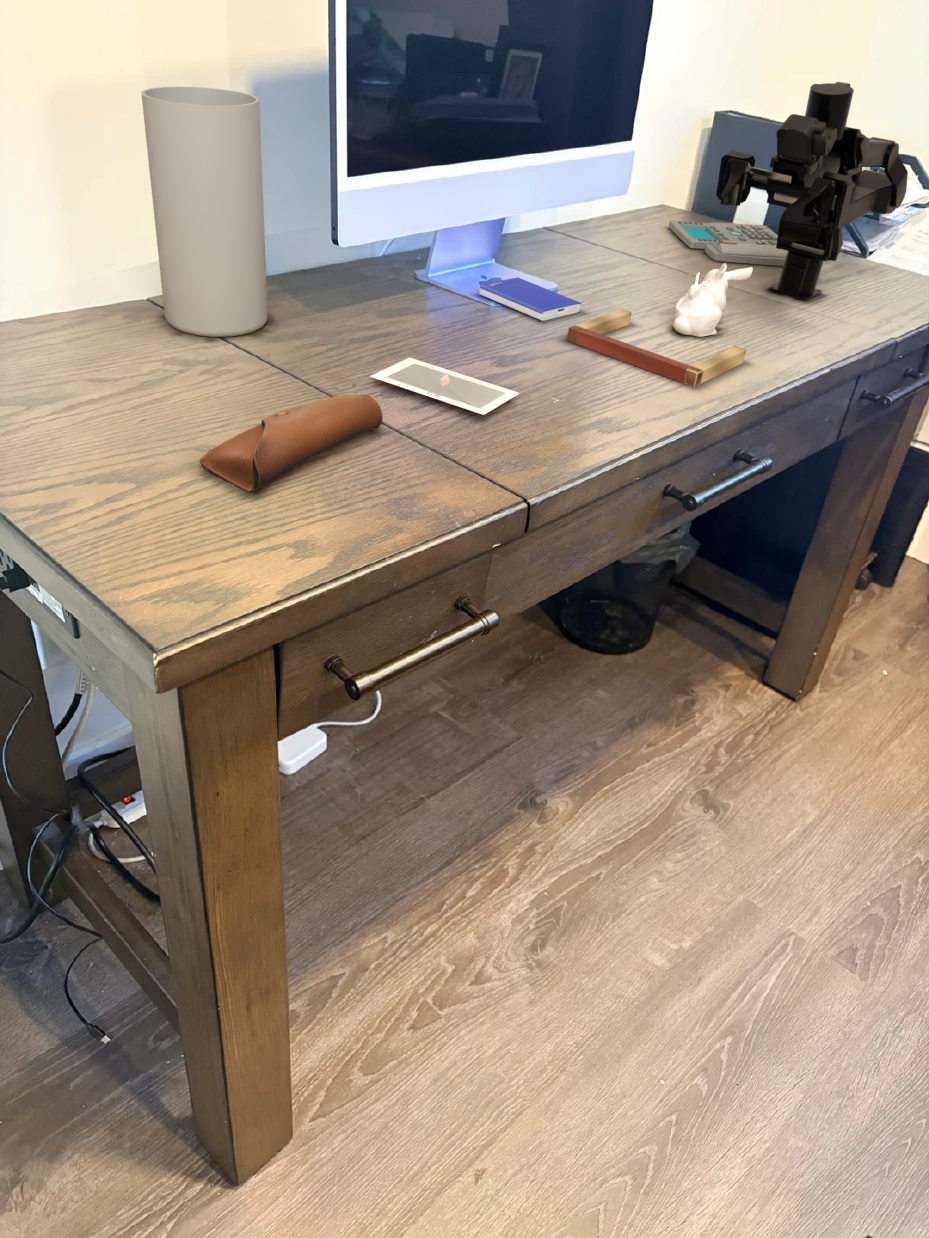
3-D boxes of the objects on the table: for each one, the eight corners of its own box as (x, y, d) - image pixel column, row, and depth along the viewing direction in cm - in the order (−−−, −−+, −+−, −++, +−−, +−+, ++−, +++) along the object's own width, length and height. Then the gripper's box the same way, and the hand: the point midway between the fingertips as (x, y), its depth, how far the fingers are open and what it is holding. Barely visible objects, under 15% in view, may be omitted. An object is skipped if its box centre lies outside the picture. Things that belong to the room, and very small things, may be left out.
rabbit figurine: (705, 315, 136) (721, 247, 130) (750, 331, 132) (769, 261, 126) (657, 330, 129) (672, 258, 123) (703, 347, 125) (721, 274, 119)
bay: (620, 321, 130) (622, 308, 129) (743, 363, 121) (746, 349, 120) (566, 341, 122) (568, 327, 121) (694, 387, 113) (697, 373, 112)
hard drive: (479, 284, 133) (542, 310, 127) (519, 276, 138) (581, 301, 131) (478, 295, 134) (540, 322, 128) (518, 287, 139) (579, 312, 132)
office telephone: (816, 253, 162) (706, 246, 159) (811, 269, 163) (703, 262, 160) (767, 218, 180) (668, 211, 177) (763, 232, 182) (665, 225, 179)
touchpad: (409, 366, 110) (409, 348, 109) (518, 402, 105) (520, 384, 103) (369, 385, 105) (369, 367, 103) (482, 424, 99) (484, 405, 98)
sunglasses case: (319, 404, 98) (344, 360, 93) (363, 452, 98) (391, 411, 93) (191, 462, 86) (214, 415, 81) (242, 518, 85) (268, 474, 81)
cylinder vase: (288, 327, 117) (282, 103, 103) (201, 346, 110) (181, 108, 95) (231, 299, 124) (217, 85, 109) (146, 315, 116) (119, 88, 102)
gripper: (757, 99, 132) (699, 131, 124) (885, 123, 122) (832, 158, 114) (744, 181, 139) (688, 215, 131) (863, 209, 130) (812, 248, 122)
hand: (752, 208), depth 125 cm, fingers open, 9 cm apart
